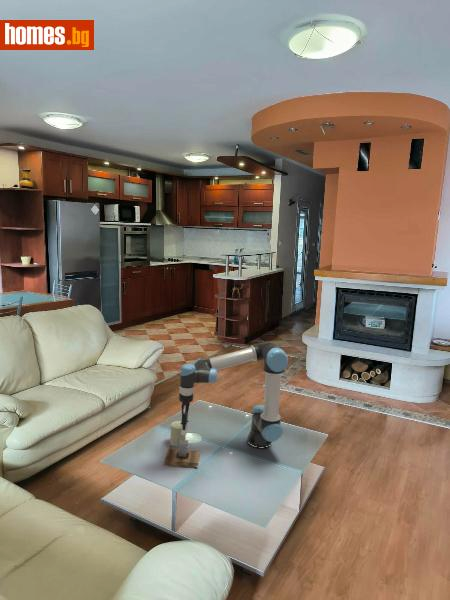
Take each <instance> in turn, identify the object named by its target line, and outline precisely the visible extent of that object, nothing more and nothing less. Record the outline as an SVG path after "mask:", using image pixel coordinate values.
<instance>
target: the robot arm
mask: <svg viewBox="0 0 450 600" xmlns="http://www.w3.org/2000/svg"><path fill="white" fill-rule="evenodd" d="M252 361H254V362H259V361H260V362H261V361H262V362H263V369H262V370H263V372H264V373H265V378H264V381H265V382H264V395H263V396H264V397H263V404H258V405H254V406H253V408H252V412H251V413H252V414H251V424H250V425H251V427H250V430H249V432H248V435H247V438H246V442H247V441H248V442H249V443H250V444H252V445H254V446H257V447H266V446H269V445H271V443H273V442H277V441H278V440H279V439H281V437H282V436H283V434H284V433H283V432H284V429H283V426H282V425H281V422H282V421H281V420H282V417H281V415H280V413H279V409H280V397H281V394H280V393H281V380H282V374H284V373H285V369H286V368H287V366H288V364H289V357H288V355H287V353H286V352H285V351H284V350H283V349H282V348H280V347H279V346H278V345H277V344H276V343H273V342H269V341H266V342H260V343H255V344H252V345H250V347H247V348H244V349H240V350H237V351H234V352H233V351H232V352H229V353H226V354H222V355H217V356H213V357H210V358H207V359H205V358H204V359H203V358H202V357H201V358H197V359H196V360H195V361H194V362H193V364H191V363H185V364H183V365H182V366H181V367H180V373H179V378H180V379H179V386H178V389H179V394H178V401H180V402H181V403H182V404H181V421H182V422H181V423H180V424H182V428H181V435H186V436H187V433H188V431H187V429H188V423H189V420H188V419H189V410H190V403H192V402H193V401H194V393H195V384H214V383H216V382H217V380H218V371H219V370H223V369H227V368H229V367H234V366H238V365H242V364H245V363H248V362H252ZM248 442H247V443H248ZM271 446H272V445H271Z"/></svg>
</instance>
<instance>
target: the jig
mask: <svg viewBox="0 0 450 600" xmlns="http://www.w3.org/2000/svg"><path fill="white" fill-rule="evenodd" d="M172 447H173V446H172V445H170V446H169V447H168V448H167V450H166V455H165V457H164V462H163V463H164V464H163V466H168V467H177V468H178V467H180V468H190V467H196V466H198V467H199V463H198V462H200V455H201V454H200V453H201V451H200V450H193V449H187V459H179V458H178V450H179V448H172Z"/></svg>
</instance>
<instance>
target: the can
mask: <svg viewBox="0 0 450 600" xmlns="http://www.w3.org/2000/svg"><path fill="white" fill-rule="evenodd" d="M181 422H182V420H176V421H173V422H171V424H170V439H169V444H170V446H172V447H177V448H179V441H180V440H186V438H187V437H186V436H187V434H186V435H181V428H182V424H180V423H181Z"/></svg>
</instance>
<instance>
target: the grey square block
mask: <svg viewBox="0 0 450 600" xmlns="http://www.w3.org/2000/svg"><path fill="white" fill-rule="evenodd" d="M188 443H189V440H187V439H185V440H180V441H179V447H178V449H179V450H178V457H177V458H179V459H188V458H187V450H188V446H189V445H188Z"/></svg>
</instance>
